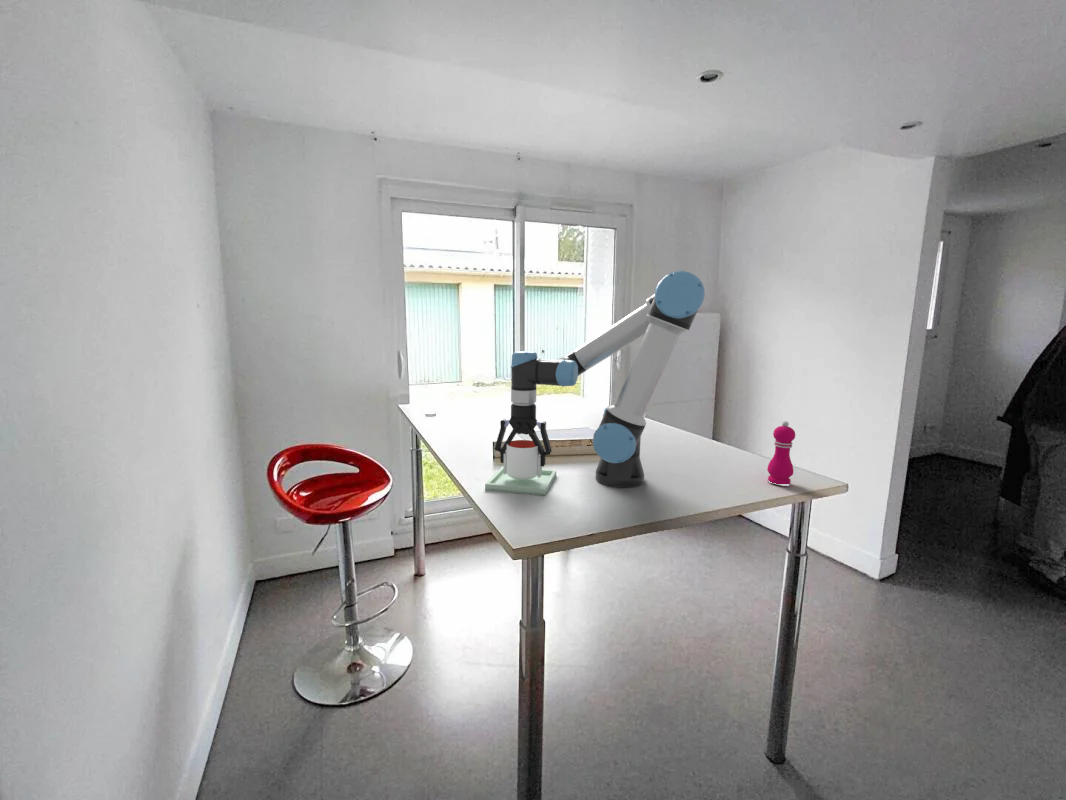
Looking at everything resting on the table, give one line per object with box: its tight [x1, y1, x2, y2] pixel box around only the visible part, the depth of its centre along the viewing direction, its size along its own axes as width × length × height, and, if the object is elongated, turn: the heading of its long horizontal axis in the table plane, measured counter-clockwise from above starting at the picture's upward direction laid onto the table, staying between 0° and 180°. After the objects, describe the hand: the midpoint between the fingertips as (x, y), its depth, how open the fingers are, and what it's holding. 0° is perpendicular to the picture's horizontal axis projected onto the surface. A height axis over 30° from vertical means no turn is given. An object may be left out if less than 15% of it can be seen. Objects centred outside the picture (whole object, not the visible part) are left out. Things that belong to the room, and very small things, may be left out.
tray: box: [484, 465, 557, 496], centre depth 143 cm, size 18×18×2 cm
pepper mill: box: [766, 420, 796, 485], centre depth 145 cm, size 7×7×20 cm
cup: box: [506, 439, 540, 480], centre depth 142 cm, size 10×10×10 cm
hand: (522, 474), depth 143 cm, fingers closed on cup, 10 cm apart
